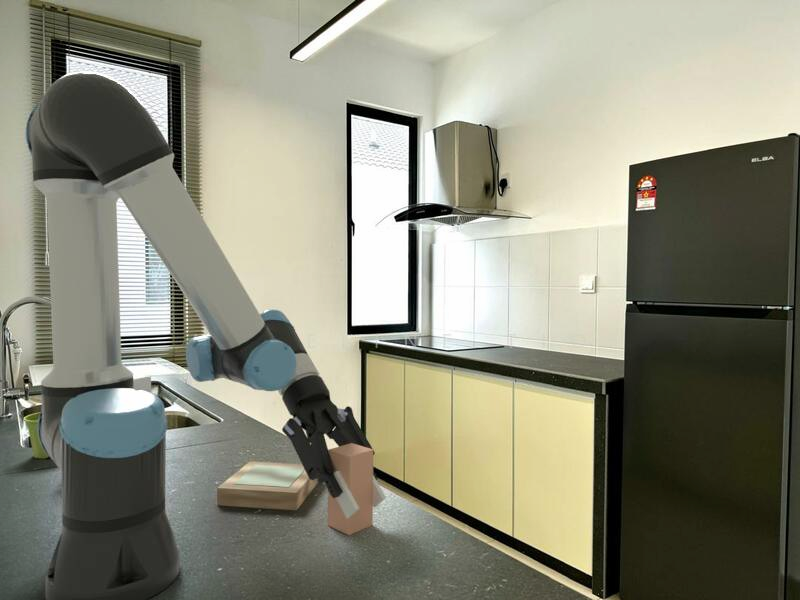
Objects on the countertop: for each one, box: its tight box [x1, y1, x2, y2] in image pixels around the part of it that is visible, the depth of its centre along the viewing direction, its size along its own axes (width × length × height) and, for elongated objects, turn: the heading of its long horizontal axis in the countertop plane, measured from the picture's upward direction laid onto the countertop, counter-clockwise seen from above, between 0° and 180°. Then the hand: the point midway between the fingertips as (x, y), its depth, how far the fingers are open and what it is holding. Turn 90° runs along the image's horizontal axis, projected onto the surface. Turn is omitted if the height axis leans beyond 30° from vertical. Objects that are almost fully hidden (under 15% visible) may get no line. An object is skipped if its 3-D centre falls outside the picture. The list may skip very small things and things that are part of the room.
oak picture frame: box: [216, 460, 319, 511], centre depth 99 cm, size 14×14×3 cm
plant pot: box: [23, 411, 50, 460], centre depth 119 cm, size 9×9×9 cm
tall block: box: [327, 443, 374, 536], centre depth 86 cm, size 5×5×12 cm
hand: (366, 507), depth 84 cm, fingers closed on tall block, 5 cm apart
